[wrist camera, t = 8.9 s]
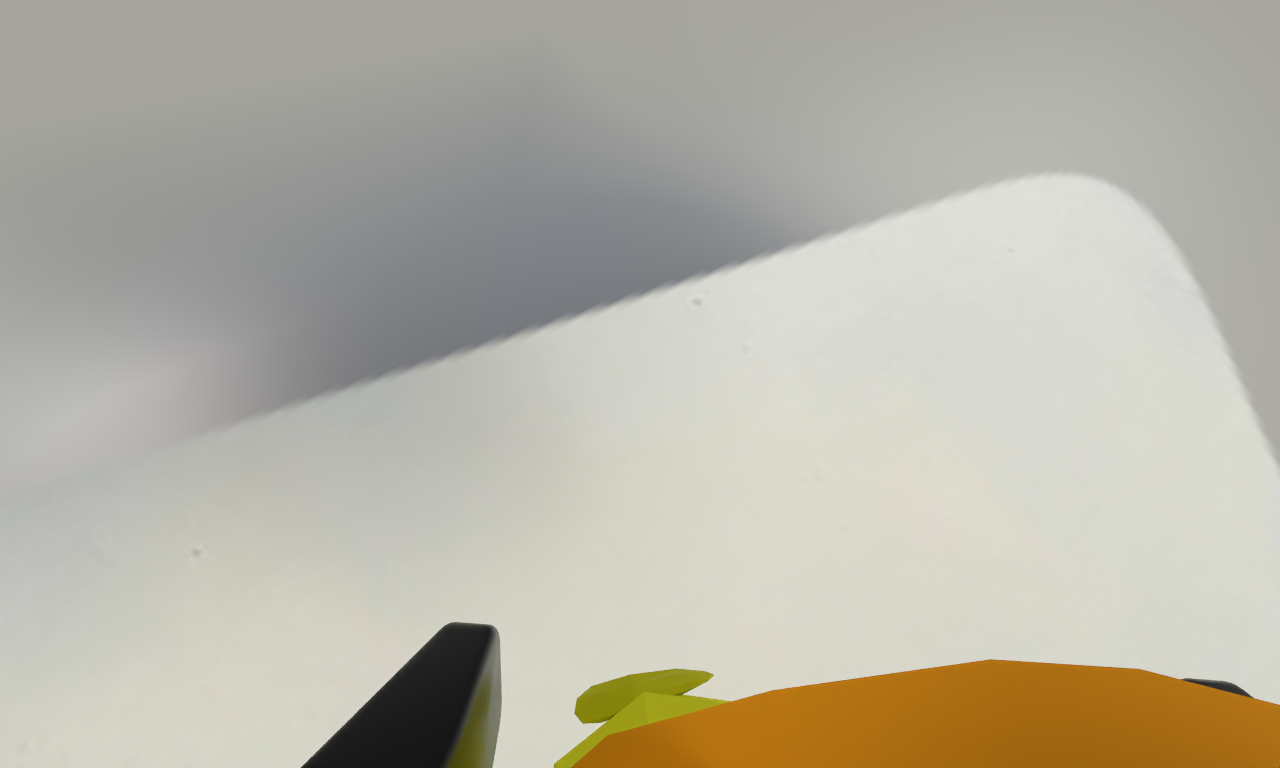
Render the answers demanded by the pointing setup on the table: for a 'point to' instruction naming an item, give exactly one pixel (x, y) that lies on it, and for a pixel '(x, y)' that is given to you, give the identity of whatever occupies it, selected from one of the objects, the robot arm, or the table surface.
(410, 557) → the table surface
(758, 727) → the toy figure
